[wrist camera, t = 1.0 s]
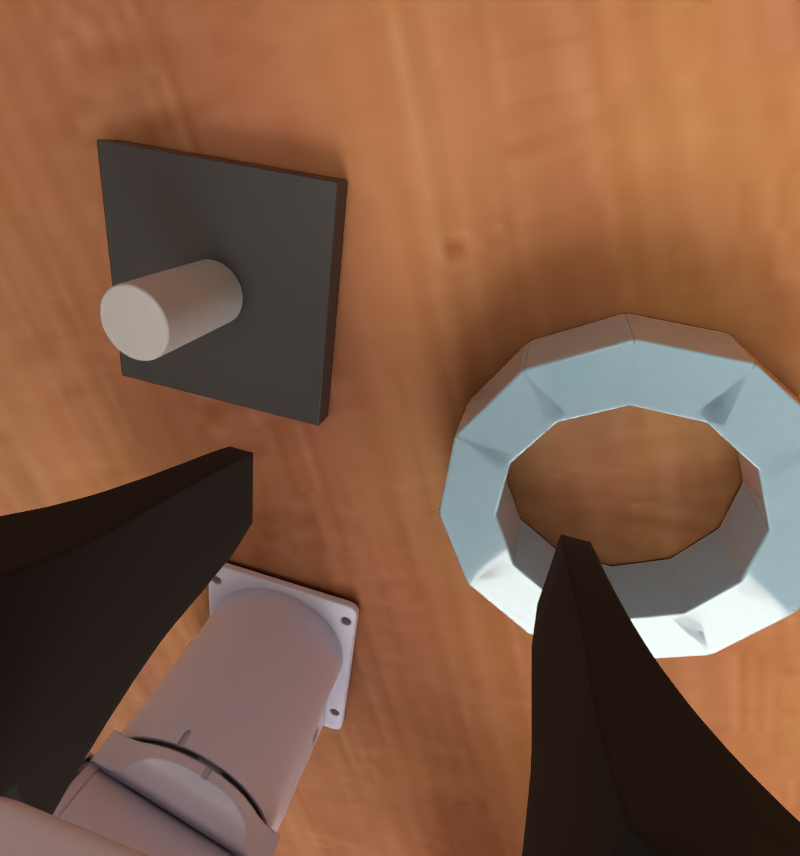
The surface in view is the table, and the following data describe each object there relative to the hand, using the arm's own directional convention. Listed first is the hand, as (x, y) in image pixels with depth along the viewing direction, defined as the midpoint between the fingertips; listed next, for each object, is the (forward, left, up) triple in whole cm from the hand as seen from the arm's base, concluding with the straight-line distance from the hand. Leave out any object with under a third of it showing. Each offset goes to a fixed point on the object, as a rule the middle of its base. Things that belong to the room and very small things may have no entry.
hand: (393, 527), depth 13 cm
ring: (-2, -6, -9) cm, 12 cm away
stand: (+2, +10, -9) cm, 14 cm away
